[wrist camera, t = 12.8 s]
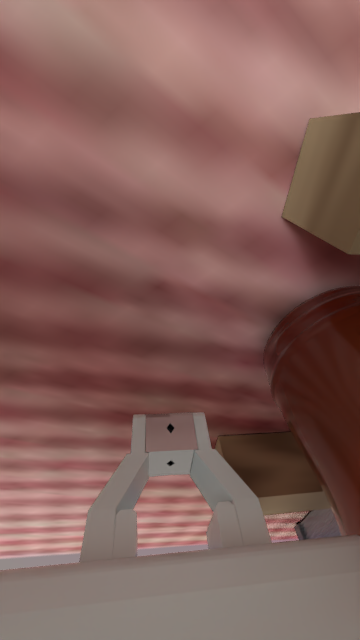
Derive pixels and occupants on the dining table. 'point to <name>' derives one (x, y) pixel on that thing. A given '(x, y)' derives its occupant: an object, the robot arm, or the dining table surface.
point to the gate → (318, 525)
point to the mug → (323, 393)
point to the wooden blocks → (343, 233)
